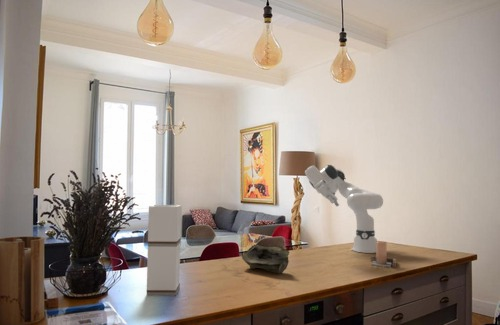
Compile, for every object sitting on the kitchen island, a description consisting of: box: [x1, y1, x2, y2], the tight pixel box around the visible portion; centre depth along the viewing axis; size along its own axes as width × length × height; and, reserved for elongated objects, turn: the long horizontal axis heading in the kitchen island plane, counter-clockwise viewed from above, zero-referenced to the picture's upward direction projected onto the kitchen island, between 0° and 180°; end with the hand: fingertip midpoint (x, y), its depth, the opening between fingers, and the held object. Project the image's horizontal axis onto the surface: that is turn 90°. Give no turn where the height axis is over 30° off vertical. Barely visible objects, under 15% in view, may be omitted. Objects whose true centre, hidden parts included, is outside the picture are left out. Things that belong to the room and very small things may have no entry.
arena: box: [370, 256, 397, 269], centre depth 210 cm, size 14×14×2 cm
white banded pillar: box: [146, 204, 182, 297], centre depth 153 cm, size 11×11×35 cm
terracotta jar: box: [375, 240, 388, 265], centre depth 209 cm, size 6×6×12 cm
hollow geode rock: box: [241, 243, 290, 275], centre depth 191 cm, size 28×13×15 cm
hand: (335, 204), depth 224 cm, fingers open, 8 cm apart
